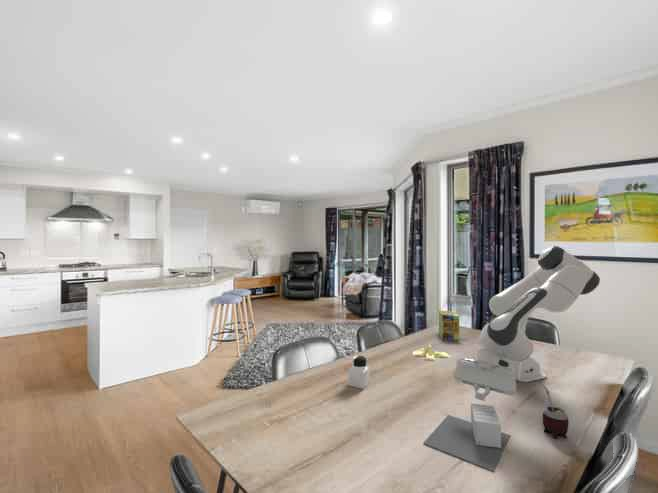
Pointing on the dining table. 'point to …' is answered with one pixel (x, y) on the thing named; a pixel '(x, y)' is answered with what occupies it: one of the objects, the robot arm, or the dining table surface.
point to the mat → (464, 443)
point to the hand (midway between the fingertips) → (479, 399)
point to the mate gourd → (554, 419)
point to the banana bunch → (429, 353)
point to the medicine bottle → (359, 372)
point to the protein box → (449, 325)
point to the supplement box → (485, 425)
